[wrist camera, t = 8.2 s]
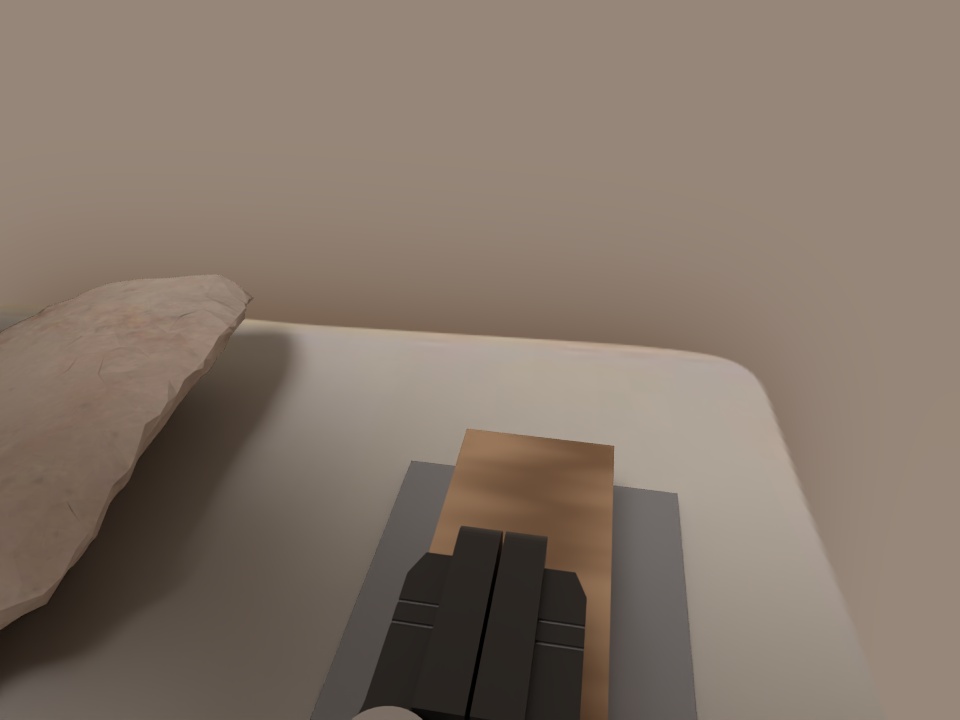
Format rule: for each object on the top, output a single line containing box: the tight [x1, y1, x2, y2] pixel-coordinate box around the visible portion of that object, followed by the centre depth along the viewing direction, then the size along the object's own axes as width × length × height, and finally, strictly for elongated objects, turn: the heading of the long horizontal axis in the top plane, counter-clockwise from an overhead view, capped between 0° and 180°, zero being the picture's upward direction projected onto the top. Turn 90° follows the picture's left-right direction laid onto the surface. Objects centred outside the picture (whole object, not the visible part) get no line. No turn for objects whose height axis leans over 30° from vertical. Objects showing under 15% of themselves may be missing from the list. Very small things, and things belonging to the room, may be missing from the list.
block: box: [429, 429, 614, 720], centre depth 20 cm, size 4×4×12 cm
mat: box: [310, 461, 697, 720], centre depth 23 cm, size 10×14×1 cm
